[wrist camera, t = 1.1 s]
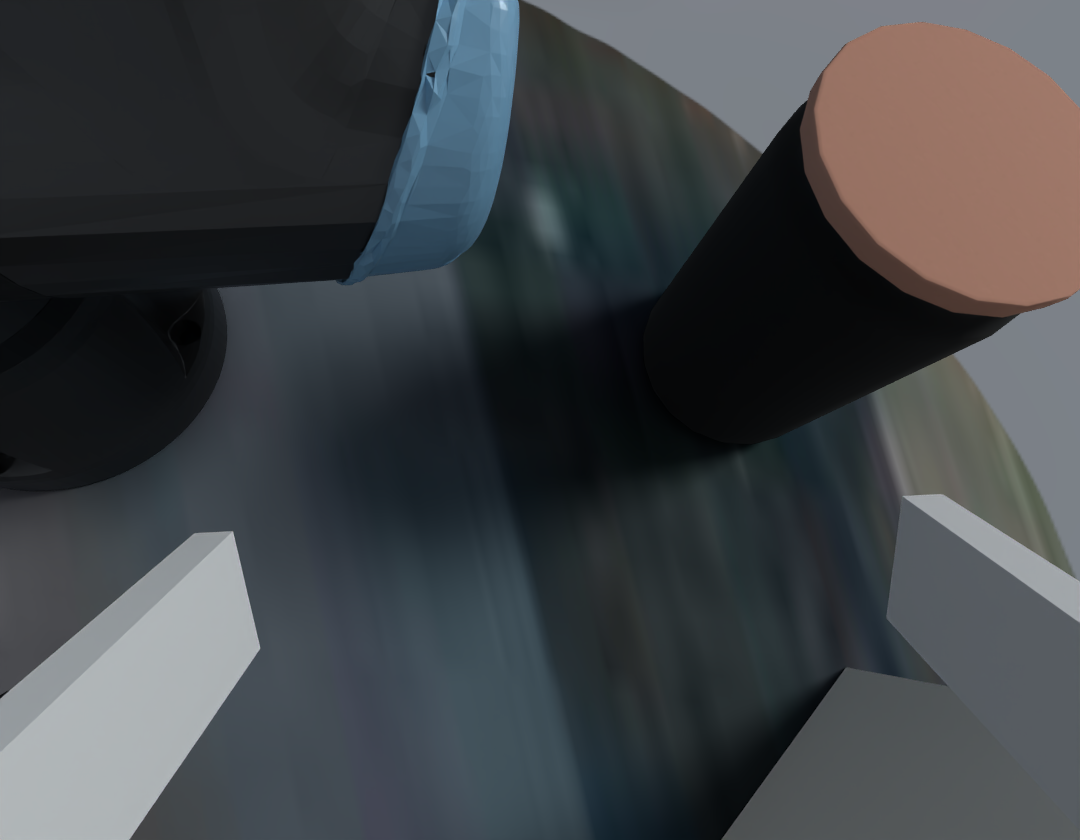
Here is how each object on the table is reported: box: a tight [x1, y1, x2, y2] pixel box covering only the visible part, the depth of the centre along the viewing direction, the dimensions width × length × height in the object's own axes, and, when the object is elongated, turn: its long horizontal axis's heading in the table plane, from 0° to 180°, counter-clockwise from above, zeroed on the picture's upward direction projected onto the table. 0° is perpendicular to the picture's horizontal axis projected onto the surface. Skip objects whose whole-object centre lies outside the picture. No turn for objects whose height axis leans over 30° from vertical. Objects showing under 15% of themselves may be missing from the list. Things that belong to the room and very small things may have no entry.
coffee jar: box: [643, 22, 1080, 444], centre depth 27 cm, size 11×11×18 cm
